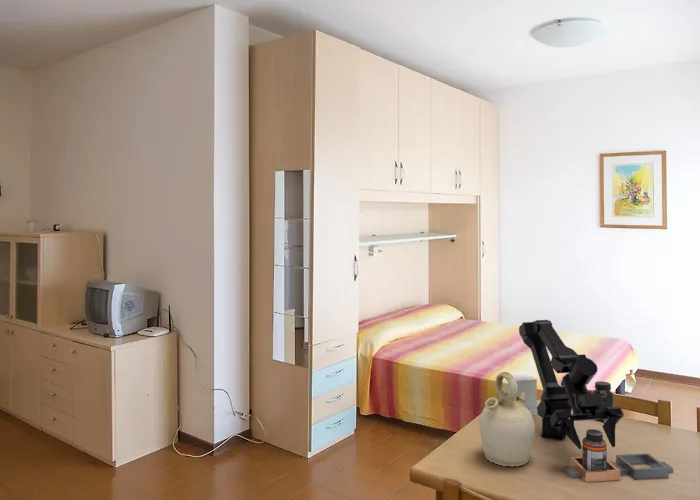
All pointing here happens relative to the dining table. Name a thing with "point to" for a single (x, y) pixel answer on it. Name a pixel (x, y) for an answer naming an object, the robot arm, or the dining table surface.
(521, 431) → the jug
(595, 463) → the supplement bottle
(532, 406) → the supplement box
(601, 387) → the supplement bottle
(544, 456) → the dining table surface
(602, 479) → the socket rail
